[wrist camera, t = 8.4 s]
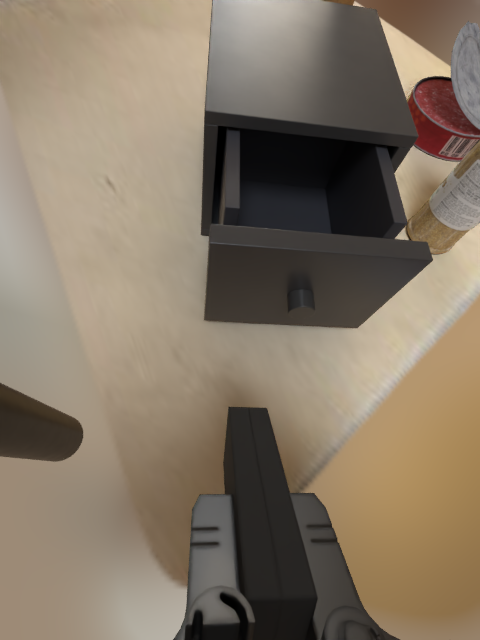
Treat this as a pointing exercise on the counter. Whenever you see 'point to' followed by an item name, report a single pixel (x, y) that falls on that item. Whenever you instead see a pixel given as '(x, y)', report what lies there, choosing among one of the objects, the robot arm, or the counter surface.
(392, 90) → the small drawer cabinet
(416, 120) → the canned food
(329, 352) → the counter surface
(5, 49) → the counter surface
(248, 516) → the robot arm
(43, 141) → the counter surface
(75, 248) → the counter surface
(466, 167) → the sprinkles bottle
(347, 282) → the pull-out drawer box
